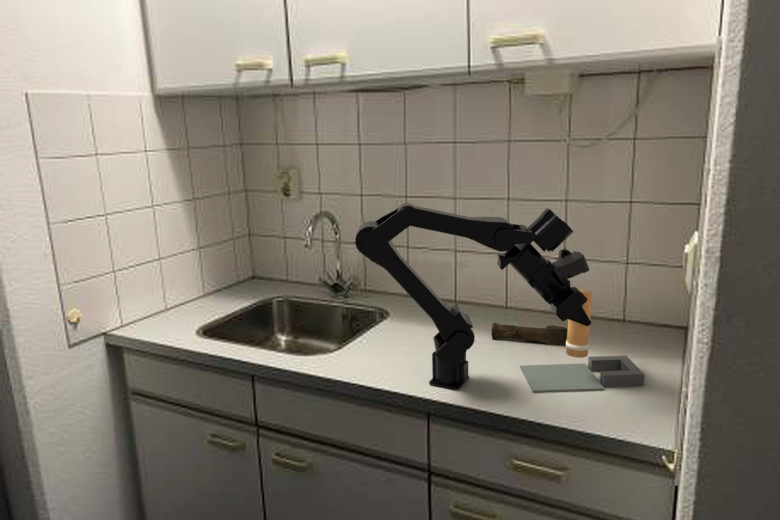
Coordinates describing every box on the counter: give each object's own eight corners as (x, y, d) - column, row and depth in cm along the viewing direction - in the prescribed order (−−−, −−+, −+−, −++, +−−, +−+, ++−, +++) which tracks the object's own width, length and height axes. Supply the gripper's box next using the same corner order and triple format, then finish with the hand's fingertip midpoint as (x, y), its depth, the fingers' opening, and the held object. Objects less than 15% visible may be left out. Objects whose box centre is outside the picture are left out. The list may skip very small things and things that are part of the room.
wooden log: (489, 341, 145) (490, 323, 143) (493, 335, 148) (494, 317, 147) (570, 351, 137) (571, 332, 136) (572, 345, 141) (573, 326, 139)
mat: (532, 392, 117) (532, 390, 117) (519, 367, 129) (519, 365, 128) (604, 390, 117) (604, 388, 117) (584, 365, 128) (584, 363, 128)
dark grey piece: (603, 387, 118) (604, 375, 117) (588, 367, 127) (588, 356, 127) (643, 385, 118) (644, 374, 117) (625, 366, 127) (626, 355, 127)
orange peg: (569, 358, 119) (573, 295, 116) (562, 349, 124) (566, 289, 121) (591, 357, 119) (596, 295, 116) (584, 349, 124) (588, 289, 120)
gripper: (579, 250, 107) (635, 308, 109) (551, 230, 125) (600, 280, 127) (533, 292, 109) (589, 348, 111) (512, 266, 127) (561, 315, 129)
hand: (585, 320), depth 120 cm, fingers closed on orange peg, 4 cm apart
